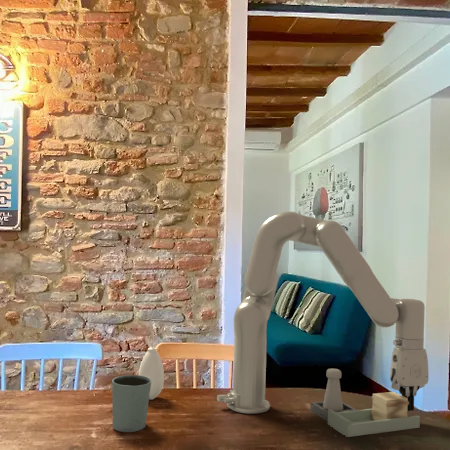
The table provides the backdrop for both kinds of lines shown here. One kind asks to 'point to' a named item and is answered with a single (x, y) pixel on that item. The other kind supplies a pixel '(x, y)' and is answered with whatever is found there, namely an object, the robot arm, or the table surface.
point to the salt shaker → (333, 391)
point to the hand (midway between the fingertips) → (407, 409)
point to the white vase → (153, 371)
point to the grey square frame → (323, 413)
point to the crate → (388, 406)
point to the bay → (368, 423)
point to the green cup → (130, 402)
